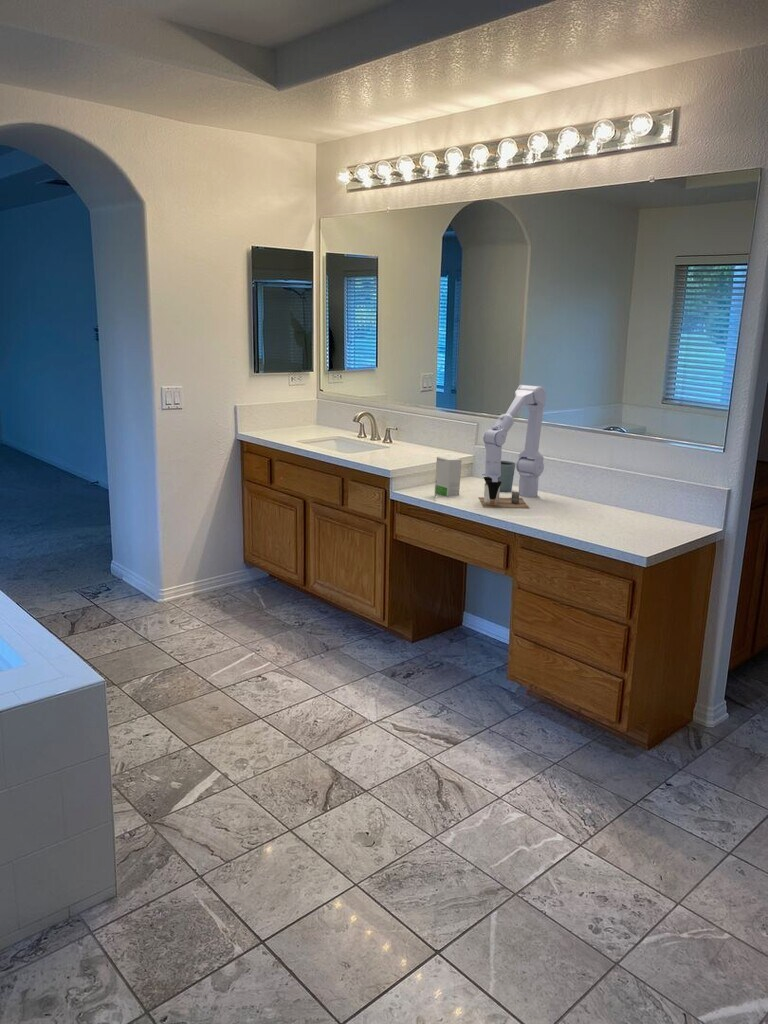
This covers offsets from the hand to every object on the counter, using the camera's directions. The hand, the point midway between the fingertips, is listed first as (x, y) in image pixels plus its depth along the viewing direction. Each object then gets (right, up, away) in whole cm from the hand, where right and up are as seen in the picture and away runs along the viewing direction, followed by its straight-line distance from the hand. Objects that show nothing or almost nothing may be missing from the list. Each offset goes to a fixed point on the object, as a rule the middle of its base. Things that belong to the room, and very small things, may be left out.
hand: (491, 497), depth 303 cm
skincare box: (-15, +1, +15) cm, 22 cm away
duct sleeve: (0, -2, 0) cm, 2 cm away
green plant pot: (+8, +3, +26) cm, 27 cm away
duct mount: (+4, -3, +1) cm, 5 cm away
